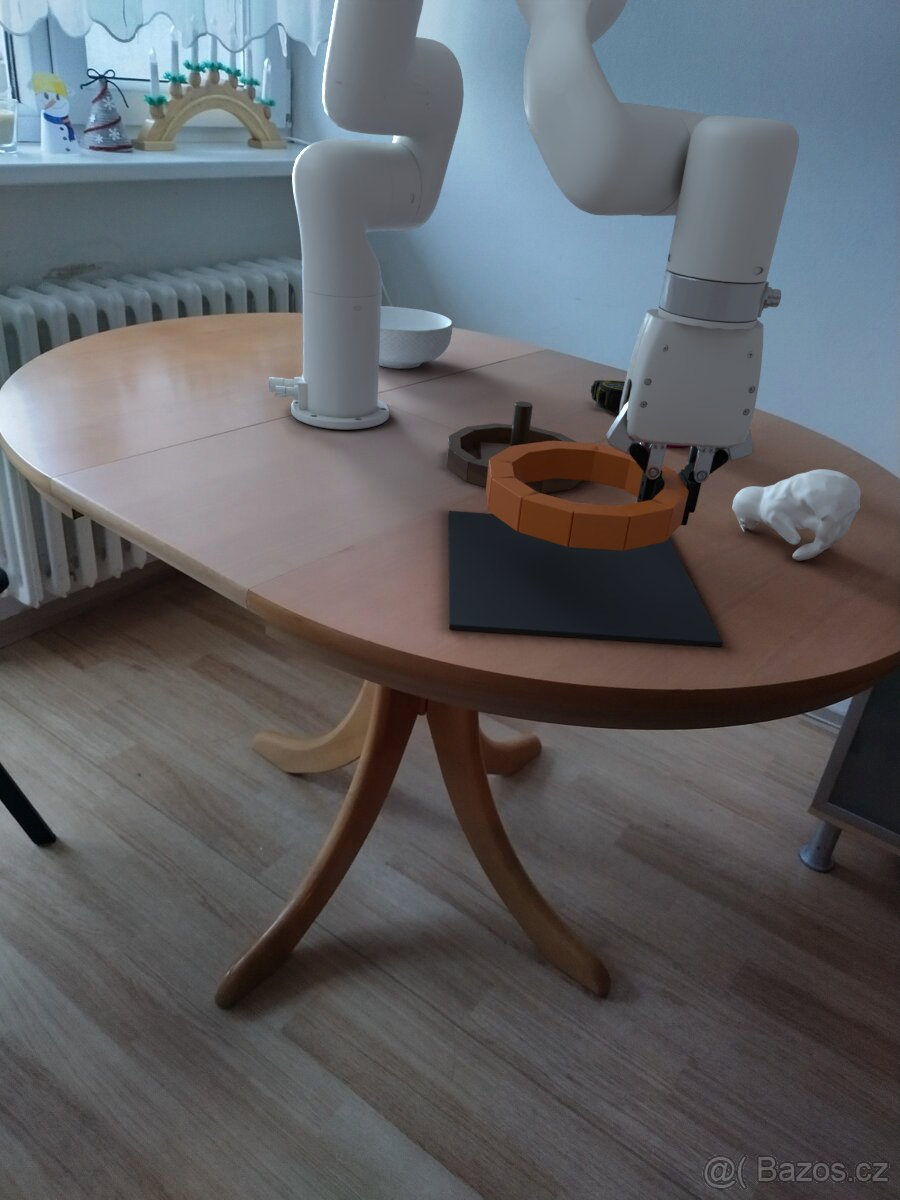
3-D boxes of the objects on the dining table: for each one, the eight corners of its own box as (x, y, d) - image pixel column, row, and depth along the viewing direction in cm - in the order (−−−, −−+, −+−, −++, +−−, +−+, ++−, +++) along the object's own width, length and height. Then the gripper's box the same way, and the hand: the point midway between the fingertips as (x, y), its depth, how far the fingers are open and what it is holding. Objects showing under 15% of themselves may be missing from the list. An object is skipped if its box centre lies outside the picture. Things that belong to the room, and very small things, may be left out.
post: (481, 477, 97) (488, 412, 93) (479, 451, 104) (485, 390, 100) (555, 482, 97) (565, 418, 94) (548, 456, 105) (556, 395, 101)
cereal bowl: (448, 381, 129) (452, 333, 126) (337, 372, 129) (338, 324, 125) (450, 353, 144) (453, 309, 141) (350, 345, 144) (351, 301, 140)
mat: (449, 629, 68) (449, 624, 68) (448, 514, 87) (448, 510, 87) (721, 647, 69) (723, 642, 69) (662, 529, 88) (663, 525, 88)
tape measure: (633, 404, 127) (638, 378, 125) (646, 419, 121) (652, 392, 119) (588, 401, 126) (592, 376, 124) (599, 416, 120) (603, 390, 118)
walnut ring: (447, 488, 94) (449, 467, 92) (446, 438, 107) (448, 419, 106) (593, 498, 94) (596, 477, 93) (573, 447, 108) (576, 429, 107)
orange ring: (491, 542, 67) (494, 507, 66) (483, 466, 82) (486, 435, 80) (700, 556, 68) (708, 521, 67) (655, 477, 83) (661, 448, 81)
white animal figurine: (847, 486, 78) (727, 458, 86) (827, 572, 82) (714, 537, 90) (874, 472, 82) (757, 446, 90) (855, 554, 86) (744, 522, 94)
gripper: (794, 298, 70) (739, 506, 79) (600, 283, 69) (567, 495, 78) (830, 318, 64) (766, 542, 73) (616, 301, 63) (579, 530, 72)
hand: (663, 516), depth 75 cm, fingers closed on orange ring, 2 cm apart
